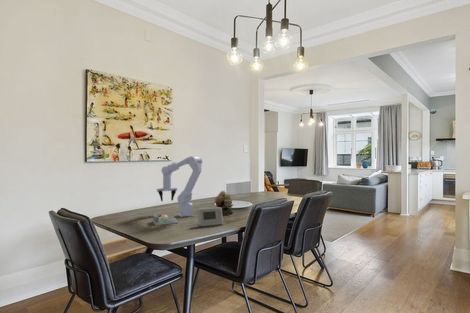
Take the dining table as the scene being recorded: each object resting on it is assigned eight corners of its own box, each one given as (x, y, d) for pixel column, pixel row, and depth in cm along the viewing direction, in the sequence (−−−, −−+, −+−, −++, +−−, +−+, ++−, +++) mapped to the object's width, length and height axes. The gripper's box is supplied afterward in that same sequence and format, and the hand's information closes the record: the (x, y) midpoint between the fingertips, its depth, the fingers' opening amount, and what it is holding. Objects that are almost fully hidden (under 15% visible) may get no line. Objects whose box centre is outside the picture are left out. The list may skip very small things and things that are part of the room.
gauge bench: (173, 219, 197) (173, 212, 197) (177, 223, 187) (177, 215, 187) (152, 221, 191) (152, 213, 191) (155, 225, 181) (155, 217, 181)
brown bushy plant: (237, 213, 218) (237, 190, 218) (226, 216, 210) (226, 192, 209) (220, 209, 230) (220, 188, 230) (209, 212, 222) (210, 190, 221)
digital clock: (198, 227, 177) (198, 210, 177) (197, 223, 186) (197, 207, 186) (224, 226, 181) (224, 209, 180) (221, 222, 190) (222, 206, 189)
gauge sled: (166, 219, 192) (166, 212, 191) (168, 220, 187) (168, 214, 187) (158, 220, 189) (158, 213, 189) (159, 221, 185) (159, 215, 185)
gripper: (175, 181, 222) (175, 199, 222) (156, 182, 215) (156, 200, 216) (177, 182, 215) (177, 200, 215) (157, 183, 209) (157, 202, 209)
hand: (167, 200), depth 215 cm, fingers open, 7 cm apart
